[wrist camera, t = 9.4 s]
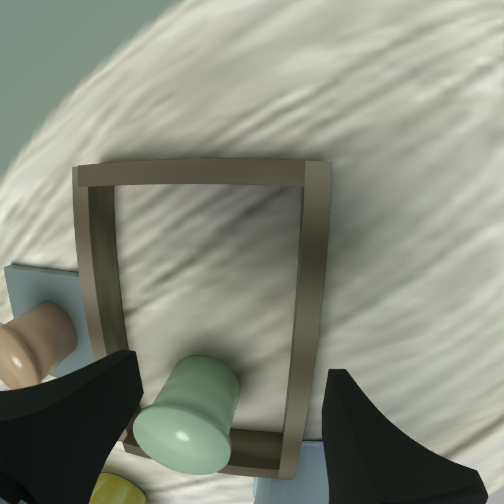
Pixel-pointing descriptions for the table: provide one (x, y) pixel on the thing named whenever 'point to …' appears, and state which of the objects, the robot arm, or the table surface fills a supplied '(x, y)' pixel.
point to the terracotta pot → (35, 344)
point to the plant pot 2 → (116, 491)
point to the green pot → (191, 417)
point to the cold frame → (307, 290)
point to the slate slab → (59, 292)
